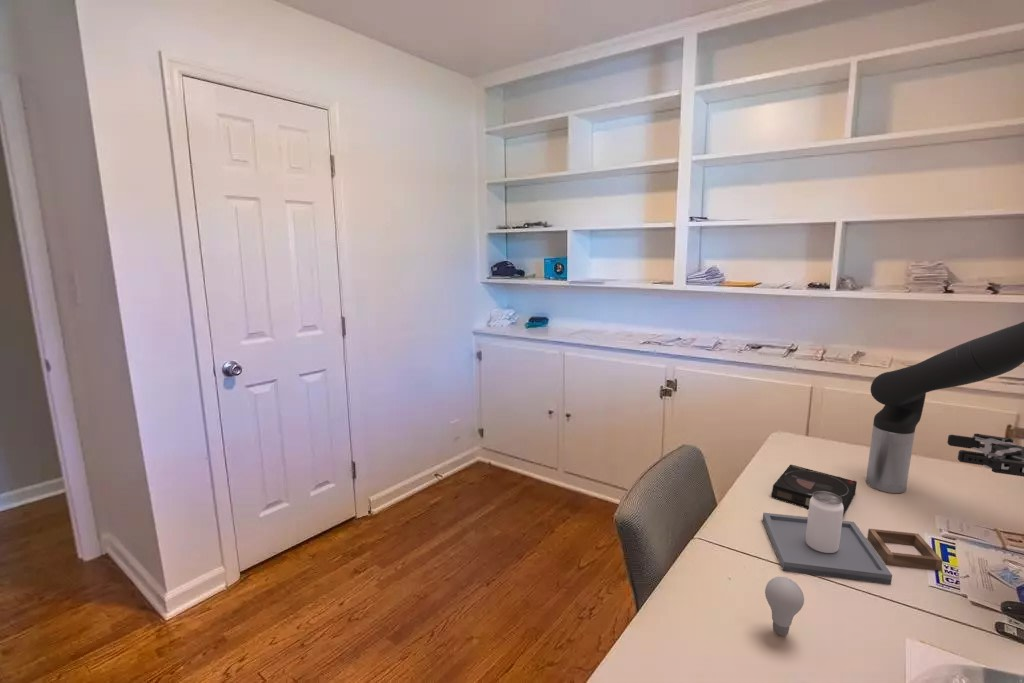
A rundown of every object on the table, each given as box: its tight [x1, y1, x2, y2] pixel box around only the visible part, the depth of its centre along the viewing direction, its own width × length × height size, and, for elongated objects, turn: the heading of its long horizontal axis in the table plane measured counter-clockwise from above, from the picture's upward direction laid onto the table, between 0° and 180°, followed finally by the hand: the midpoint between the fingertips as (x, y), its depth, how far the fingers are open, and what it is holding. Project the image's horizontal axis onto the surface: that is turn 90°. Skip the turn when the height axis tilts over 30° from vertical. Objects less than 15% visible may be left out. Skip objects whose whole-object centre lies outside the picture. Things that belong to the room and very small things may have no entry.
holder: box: [867, 528, 944, 572], centre depth 115 cm, size 10×10×2 cm
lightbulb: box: [764, 576, 805, 637], centre depth 92 cm, size 6×6×11 cm
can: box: [806, 491, 844, 554], centre depth 115 cm, size 6×6×12 cm
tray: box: [762, 512, 893, 585], centre depth 117 cm, size 20×20×2 cm
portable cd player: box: [771, 464, 858, 518], centre depth 140 cm, size 16×17×4 cm
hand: (953, 447), depth 103 cm, fingers open, 8 cm apart
